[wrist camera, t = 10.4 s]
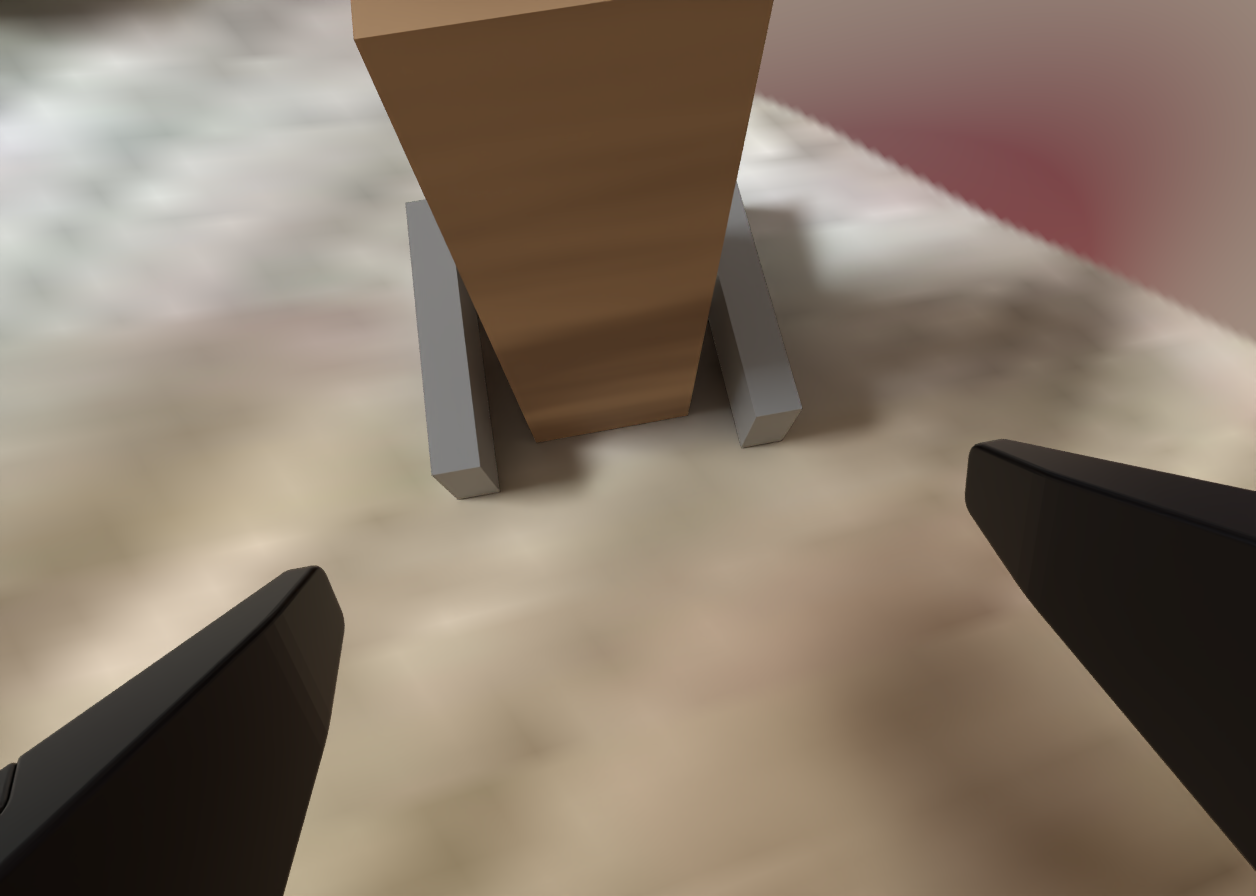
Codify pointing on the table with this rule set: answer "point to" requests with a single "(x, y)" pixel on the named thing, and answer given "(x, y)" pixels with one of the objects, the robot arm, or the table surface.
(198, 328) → the table surface
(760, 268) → the u-shaped bracket
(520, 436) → the table surface
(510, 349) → the wooden block
